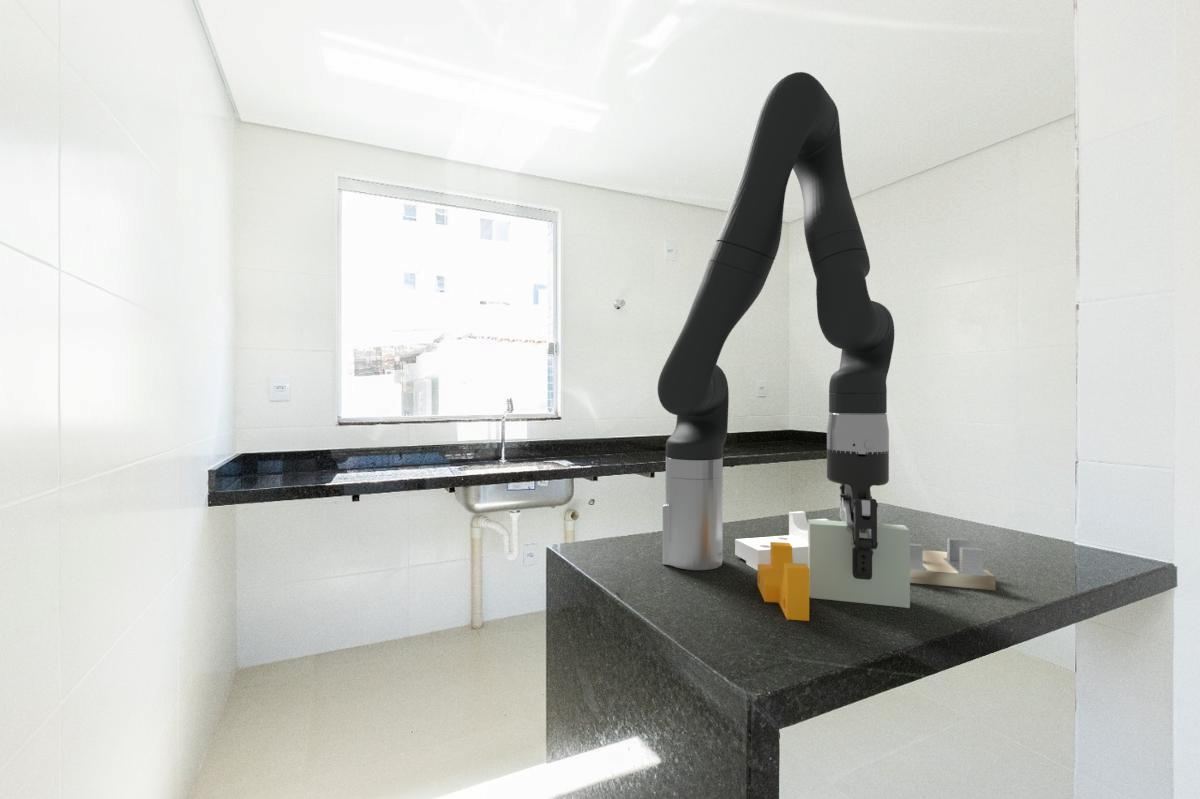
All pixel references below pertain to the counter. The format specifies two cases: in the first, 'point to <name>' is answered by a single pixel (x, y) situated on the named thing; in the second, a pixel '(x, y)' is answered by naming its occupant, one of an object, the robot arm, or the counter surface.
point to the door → (835, 565)
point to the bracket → (759, 547)
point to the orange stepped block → (785, 582)
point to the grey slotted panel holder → (953, 557)
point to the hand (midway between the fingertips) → (856, 568)
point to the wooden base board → (948, 574)
